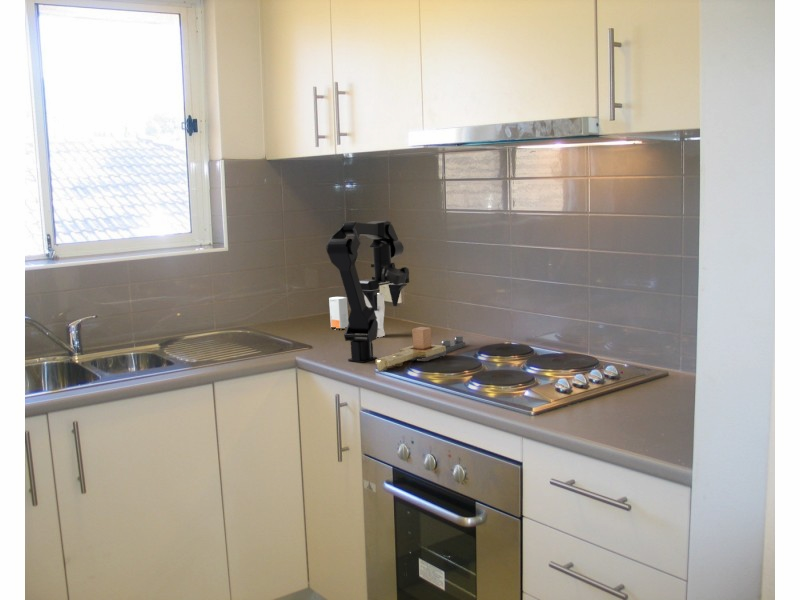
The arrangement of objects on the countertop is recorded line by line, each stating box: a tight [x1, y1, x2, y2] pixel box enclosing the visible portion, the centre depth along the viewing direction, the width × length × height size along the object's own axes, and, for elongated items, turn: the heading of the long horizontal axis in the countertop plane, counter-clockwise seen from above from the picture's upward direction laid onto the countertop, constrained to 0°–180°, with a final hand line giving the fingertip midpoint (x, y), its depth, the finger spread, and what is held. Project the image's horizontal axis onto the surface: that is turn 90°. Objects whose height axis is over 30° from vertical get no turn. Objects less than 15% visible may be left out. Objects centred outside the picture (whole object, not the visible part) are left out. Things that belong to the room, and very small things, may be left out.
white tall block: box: [364, 292, 386, 338], centre depth 286 cm, size 7×7×15 cm
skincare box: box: [328, 296, 349, 328], centre depth 306 cm, size 6×4×12 cm
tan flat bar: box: [374, 335, 466, 372], centre depth 248 cm, size 41×10×3 cm, turn 141°
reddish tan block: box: [411, 326, 433, 350], centre depth 247 cm, size 4×4×9 cm
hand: (385, 308), depth 262 cm, fingers open, 9 cm apart
